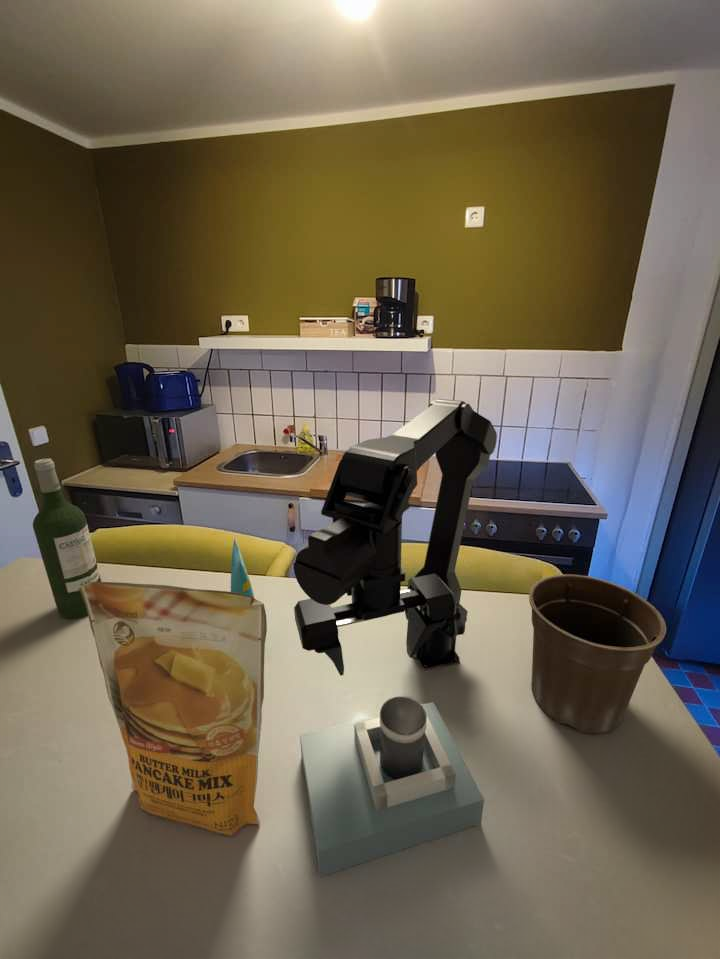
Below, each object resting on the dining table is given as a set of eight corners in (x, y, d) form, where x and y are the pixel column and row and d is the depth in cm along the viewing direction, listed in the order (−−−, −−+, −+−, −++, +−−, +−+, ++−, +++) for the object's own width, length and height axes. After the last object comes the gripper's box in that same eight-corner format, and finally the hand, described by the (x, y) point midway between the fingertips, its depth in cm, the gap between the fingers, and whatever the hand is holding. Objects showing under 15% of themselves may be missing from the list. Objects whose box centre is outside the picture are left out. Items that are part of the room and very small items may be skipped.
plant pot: (493, 674, 67) (504, 586, 62) (570, 646, 73) (587, 564, 67) (577, 767, 53) (602, 665, 48) (665, 724, 59) (696, 628, 53)
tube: (267, 655, 71) (257, 554, 64) (237, 665, 69) (224, 562, 62) (255, 628, 77) (245, 534, 71) (228, 637, 75) (215, 540, 69)
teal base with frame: (431, 724, 59) (434, 690, 57) (480, 823, 47) (486, 786, 45) (301, 757, 54) (299, 722, 52) (319, 877, 43) (317, 838, 41)
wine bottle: (90, 619, 80) (49, 467, 70) (48, 619, 80) (2, 468, 70) (113, 594, 87) (80, 454, 77) (75, 594, 88) (37, 454, 77)
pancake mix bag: (148, 753, 55) (102, 564, 46) (286, 788, 51) (268, 588, 41) (108, 807, 49) (45, 602, 39) (261, 852, 45) (232, 634, 35)
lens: (413, 734, 53) (415, 691, 51) (431, 775, 48) (434, 729, 46) (373, 745, 52) (373, 701, 49) (387, 788, 47) (388, 741, 45)
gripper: (420, 514, 58) (416, 609, 64) (282, 536, 53) (291, 637, 58) (463, 555, 48) (454, 663, 54) (298, 587, 43) (307, 703, 48)
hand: (376, 663), depth 54 cm, fingers open, 9 cm apart
